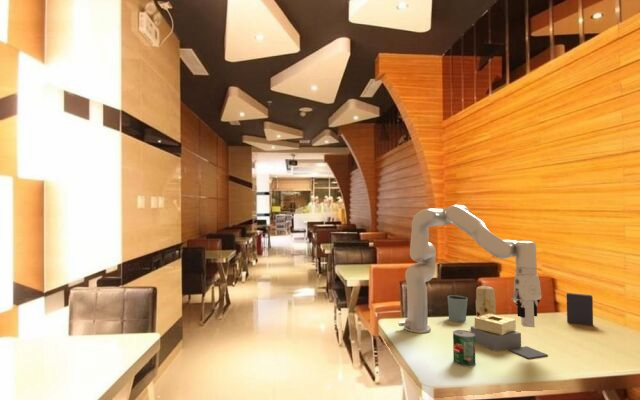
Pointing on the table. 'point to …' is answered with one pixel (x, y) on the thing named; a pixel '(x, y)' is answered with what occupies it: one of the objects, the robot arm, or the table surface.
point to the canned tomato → (464, 348)
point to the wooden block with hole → (495, 324)
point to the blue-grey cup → (457, 308)
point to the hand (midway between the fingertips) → (527, 315)
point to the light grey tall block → (528, 314)
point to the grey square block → (497, 339)
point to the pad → (527, 352)
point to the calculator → (580, 309)
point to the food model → (485, 301)
